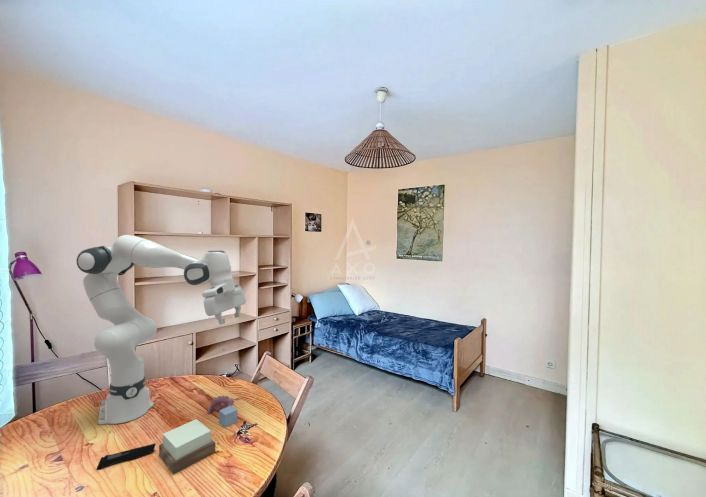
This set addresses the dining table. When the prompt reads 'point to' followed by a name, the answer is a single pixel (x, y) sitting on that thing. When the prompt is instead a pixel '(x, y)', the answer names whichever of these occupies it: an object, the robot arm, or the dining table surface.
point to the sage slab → (186, 439)
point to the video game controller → (218, 401)
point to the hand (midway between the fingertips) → (230, 320)
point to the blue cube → (227, 416)
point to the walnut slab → (185, 457)
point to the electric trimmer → (125, 455)
